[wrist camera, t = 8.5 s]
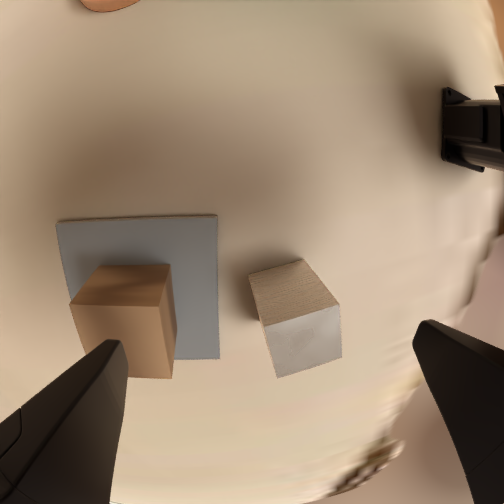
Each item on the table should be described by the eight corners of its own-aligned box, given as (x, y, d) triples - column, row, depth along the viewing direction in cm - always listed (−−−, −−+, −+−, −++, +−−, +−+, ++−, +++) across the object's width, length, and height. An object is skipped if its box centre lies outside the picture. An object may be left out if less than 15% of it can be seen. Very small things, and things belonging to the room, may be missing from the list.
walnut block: (170, 264, 17) (158, 306, 13) (177, 328, 19) (171, 378, 14) (99, 265, 16) (69, 304, 12) (112, 327, 18) (93, 373, 14)
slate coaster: (216, 215, 17) (217, 218, 17) (219, 353, 21) (219, 359, 20) (59, 221, 16) (55, 224, 15) (91, 350, 19) (89, 354, 19)
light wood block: (303, 259, 19) (339, 304, 14) (311, 306, 21) (341, 357, 15) (247, 274, 19) (263, 327, 13) (260, 320, 20) (277, 378, 15)
